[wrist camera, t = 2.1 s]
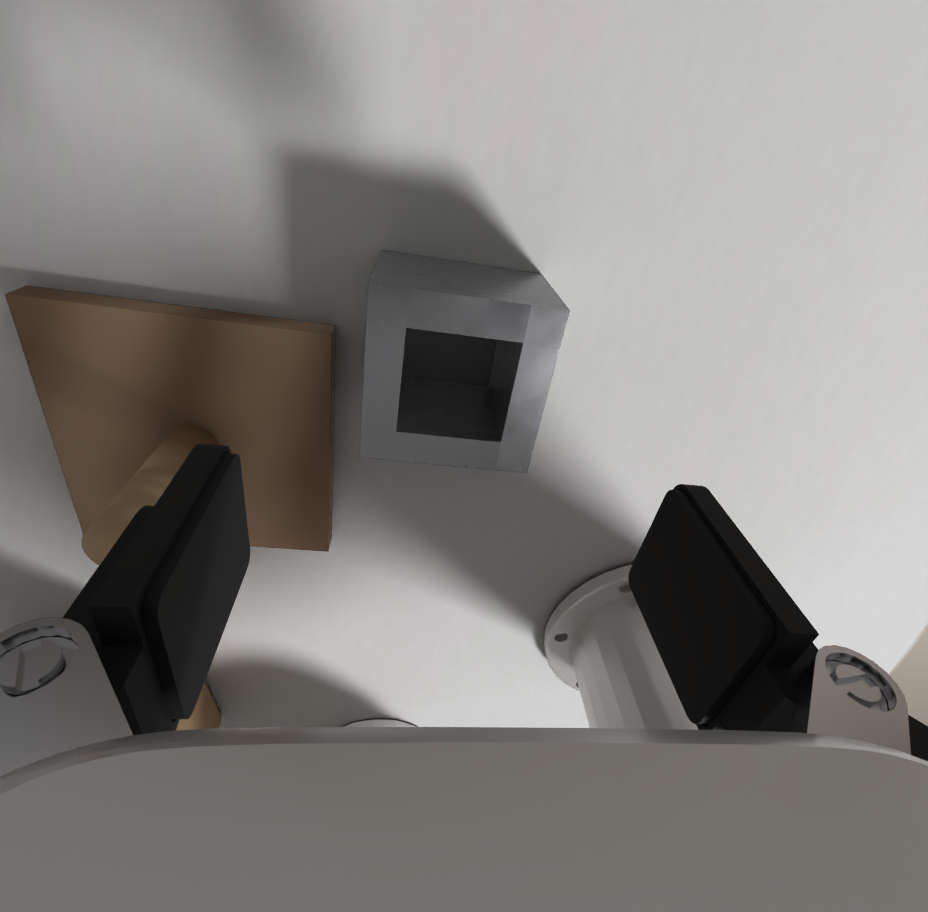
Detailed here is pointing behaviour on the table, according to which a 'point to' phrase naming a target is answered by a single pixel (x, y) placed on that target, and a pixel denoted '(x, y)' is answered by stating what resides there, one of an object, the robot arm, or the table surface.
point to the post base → (182, 407)
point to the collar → (446, 403)
